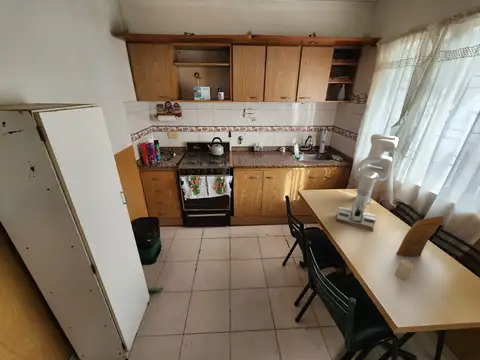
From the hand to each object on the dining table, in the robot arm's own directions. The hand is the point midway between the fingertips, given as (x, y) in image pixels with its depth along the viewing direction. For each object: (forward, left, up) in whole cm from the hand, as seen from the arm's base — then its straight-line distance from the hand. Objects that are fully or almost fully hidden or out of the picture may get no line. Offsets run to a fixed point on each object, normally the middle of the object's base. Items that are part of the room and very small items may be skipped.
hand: (356, 213), depth 151 cm
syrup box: (0, 0, -5) cm, 5 cm away
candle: (+42, +22, -8) cm, 48 cm away
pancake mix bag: (+21, +30, -8) cm, 38 cm away
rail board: (0, 0, -8) cm, 8 cm away
